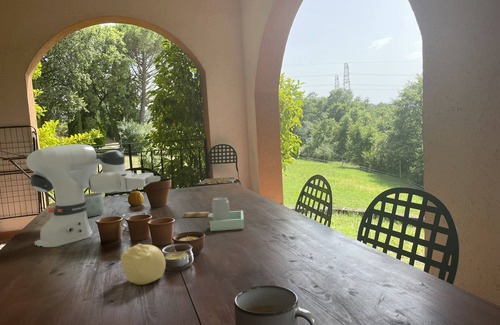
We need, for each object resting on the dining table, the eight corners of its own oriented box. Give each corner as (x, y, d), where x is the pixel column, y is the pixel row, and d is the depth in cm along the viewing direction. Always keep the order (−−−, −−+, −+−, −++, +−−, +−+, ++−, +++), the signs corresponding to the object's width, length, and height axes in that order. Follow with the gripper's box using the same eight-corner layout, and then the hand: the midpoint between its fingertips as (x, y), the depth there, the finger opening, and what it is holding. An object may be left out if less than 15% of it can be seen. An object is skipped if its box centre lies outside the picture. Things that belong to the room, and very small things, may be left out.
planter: (109, 212, 213) (107, 192, 212) (98, 217, 201) (95, 196, 200) (87, 212, 214) (85, 193, 213) (75, 218, 202) (72, 197, 201)
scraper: (182, 218, 187) (182, 214, 187) (186, 215, 194) (186, 211, 194) (213, 217, 186) (213, 213, 185) (216, 214, 192) (216, 210, 192)
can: (229, 227, 166) (227, 199, 165) (212, 228, 167) (209, 200, 166) (231, 222, 174) (229, 196, 172) (215, 223, 174) (213, 196, 173)
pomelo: (117, 282, 114) (113, 246, 113) (153, 269, 123) (150, 235, 121) (136, 292, 106) (132, 253, 105) (174, 278, 114) (170, 242, 113)
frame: (210, 230, 162) (209, 221, 162) (212, 221, 178) (212, 212, 178) (244, 228, 163) (243, 219, 162) (243, 219, 179) (243, 210, 178)
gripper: (134, 184, 178) (164, 182, 178) (121, 192, 158) (155, 190, 158) (133, 170, 177) (163, 168, 178) (119, 177, 157) (154, 174, 157)
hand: (159, 178), depth 168 cm, fingers closed
